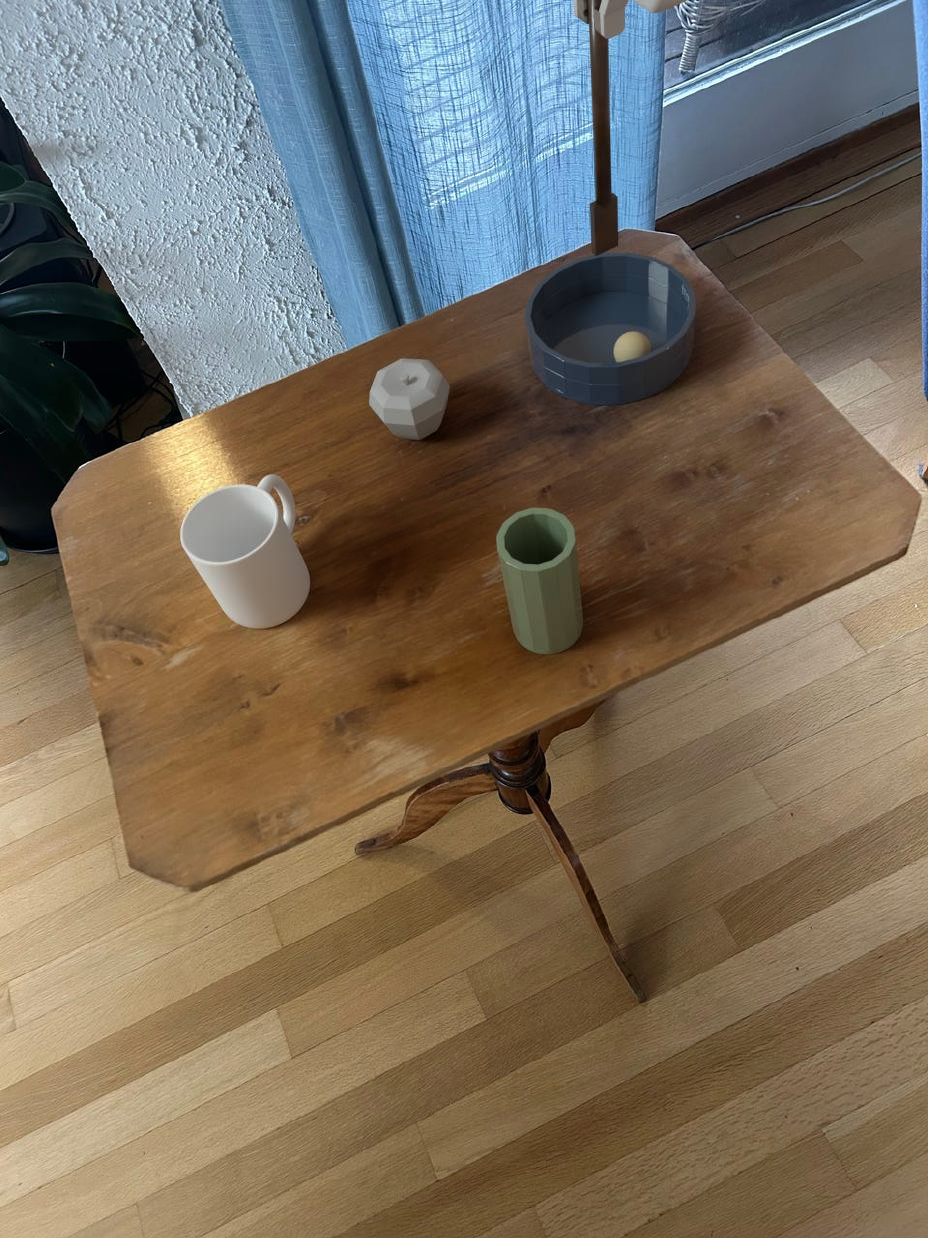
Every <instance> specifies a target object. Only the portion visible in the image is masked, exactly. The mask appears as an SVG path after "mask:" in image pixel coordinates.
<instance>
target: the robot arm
mask: <svg viewBox="0 0 928 1238" xmlns="http://www.w3.org/2000/svg"><path fill="white" fill-rule="evenodd" d="M629 1H630V0H602V2H601V5H599V6H597V7H595V8H593V17H594V21H595V22H594V29H595V30H596V31H597V32H598V33H599V34H601V35H602V36H604V37H605V38H607V39H608V40H610V39H613V38H614V37H617V36H619V35H621V34H623V32H624V31H625V28H626V8H627V6H628V4H629ZM632 1H633V2H634V3H636V4H637V5H639V6H640V7H642V8H643V9H644V10H646V11H647V12H649V13H652V14H659V13H662V12H665V11H668V10H669V9H672V8H674V7H677V6H679V5H680V4H683V3H685V2H688V0H632ZM572 3H573V15H574V17H576V18H577V19H578V20H580V21H581V22H583V23H585V24H586V25H589V12H588V0H573V2H572Z"/></svg>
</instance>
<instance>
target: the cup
mask: <svg viewBox="0 0 928 1238" xmlns="http://www.w3.org/2000/svg"><path fill="white" fill-rule="evenodd" d="M273 490H275V491H276V492H277V494H278V496H279V498H280V499H281V504H282V509H283V513H282V512H281V510H280V508H279V506H278V504H277V502H276V500H275V499H274V497H273V496H272V495H271V493H272V491H273ZM294 499H295V498H294V496H293V493H292V490H291V489H290V488H289V485H288V484H287V482H285V480H284V479H283V478H282V477H281V476H279V475H277V474H274V473H271V474H268V475H267V474H266V475H265V476H264V477H263V478H262V479H260V482H259V483H258V484H257V486H255V485H250V484H240V483H239V484H231V485H226V486H223V487H219V488H216V489H214V490H213V491H210V492H209V493H206V494H205V495H204V496H201V498H200V499H198V500H197V501H196V502H195V503H194V504H193V505H192V506H191V507H190V508H189V509H188V511H187V513H186V514H185V516H184V518H183V520H182V523H181V526H180V530H179V531H180V533H179V538H180V543H181V546H182V548H183V550H184V552H185V553H186V555H187V556H188V558H189V559H190V561H191V562H192V564H193V566H194V567H195V569H196V570H197V572H198V573H199V575H200V576H201V578H202V579H203V581H204V583H205V584H206V586H207V587H208V589H209V590H210V592H211V594H212V595H213V597H214V598H215V600H216V602H217V603H218V605H219V606H220V608H221V609H222V610H223V612H224V613H225V615H226V616H227V617H228V618H229V619H230V620H231V621H232V622H234V623H235V624H237V625H240V626H242V627H244V628H249V629H254V630H255V629H256V630H257V629H258V630H260V629H268V628H269V629H270V628H273V627H277V626H279V625H281V624H284V623H285V622H287V621H288V620H290V619H292V618H293V617H294V616H295V615H297V613H298V612H299V611H300V610H301V609H302V607H303V606H304V604H305V602H306V601H307V599H308V597H309V594H310V593H309V592H310V588H311V578H310V577H311V576H310V573H309V570H308V567H307V564H306V562H305V560H304V558H303V556H302V554H301V552H300V550H299V547H298V546H297V543H296V542H295V539H294V537H293V531H294V529H295V524H296V518H297V512H296V503H295V500H294Z"/></svg>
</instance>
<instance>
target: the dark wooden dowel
mask: <svg viewBox="0 0 928 1238" xmlns="http://www.w3.org/2000/svg"><path fill="white" fill-rule="evenodd" d="M601 2H602V0H588V12H589V24H588V35H589V36H588V39H589V65H590V91H591V93H590V94H591V118H592V144H593V174H594V197H595V198H594V201H592V202H590V203H589V222H590V223H589V225H590V246H591V247H590V249H591V250H590V251H591V253H592V255H595V256H598V255H600V254H602V253H607V252H608V251H610V250H613V249H615V248H616V247H617V248H618V246H619V203H618V202H619V198H618V196H617V195H616V194H615V193H614V192H612V191H613V190H612V188H613V187H612V185H613V184H612V142H611V141H612V140H611V139H612V138H611V96H610V95H611V93H610V50H609V49H610V47H609V39H607V38H605V37H604V36H602V35H601V34H599V33H598V32H597V31H596V30H595V29H594V22H595V21H594V17H593V8H595V7H597V6H599V5H601Z"/></svg>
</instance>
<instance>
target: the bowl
mask: <svg viewBox="0 0 928 1238" xmlns="http://www.w3.org/2000/svg"><path fill="white" fill-rule="evenodd" d="M525 306H526V307H525V313H524V325H525V332H526V340H527V341H526V343H527V348H528V354H529V358H530V363H531V366H532V369H533V371H534V373H535V375H536V376H537V378H538V379H539V380H540V382H541V383H542V384H543V385H544V386H545V387H547V388H548V389H549V390H550V391H552V392H553V393H555V394H557V395H559V396H561V397H562V398H565V399H567V400H570V401H573V402H577V403H580V404H586V405H591V406H618V405H626V404H631V403H634V402H638V401H641V400H644V399H647V398H650V397H652V396H654V395H656V394H658V393H660V392H662V391H663V390H665V389H666V388H667V387H669V386H670V385H672V384H673V383H674V382H675V381H676V380H677V379H678V378H679V377H681V375H682V374H683V372H685V370H686V369H687V366H688V365H689V363H690V360H691V359H692V355H693V351H694V345H695V344H694V343H695V328H696V307H697V296H696V294H695V291H694V289H693V287H692V285H691V283H690V281H689V279H688V278H687V277H686V276H685V275H684V274H682V273H681V272H680V271H679V270H678V269H677V268H676V267H674V265H672V264H669V263H668V262H665V261H662V260H661V259H658V258H657V257H654V256H651V255H645V254H639V253H634V252H629V251H628V252H627V251H623V252H622V251H620V252H604V253H602V254H600V255H598V256H595V255H594V254H591V255H587V256H584V257H579V258H576V259H573V260H572V261H570V262H567V263H565V264H563V265H561V266H559V267H557V268H555V269H553V270H552V271H551V272H550V273H549V274H547V275H546V276H545V277H544V278H543V279H541V280H540V281H539V282H537V284H536V286H535V287H534V289H533V291H532V292H531V294H530V296H529V297H528V298H527V301H526V305H525ZM633 331H634V332H639V333H642V334H643V335H645V336H646V337H647V338H648V340H649V341H650V344H651V349H652V351H651V353H649V354H647V355H645V356H643V357H638V358H634V359H630V360H626V361H621V362H616V360H615V357H614V346H615V343H616V341H617V340H618V339H619V337H620V336H622V335H623V334H625V333H627V332H633Z"/></svg>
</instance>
